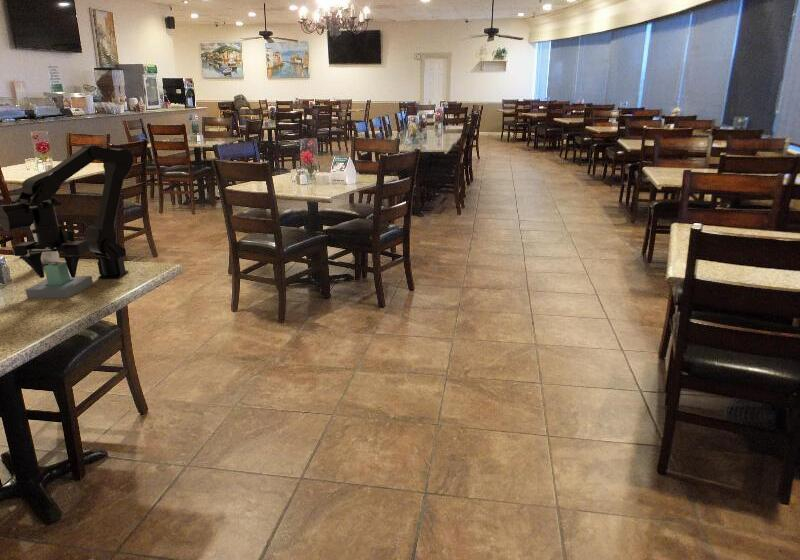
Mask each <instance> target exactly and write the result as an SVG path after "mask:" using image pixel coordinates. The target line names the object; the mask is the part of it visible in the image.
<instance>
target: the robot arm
mask: <svg viewBox="0 0 800 560" xmlns="http://www.w3.org/2000/svg"><path fill="white" fill-rule="evenodd" d="M134 160H135V157H134V155H133V154H132V152H131V151H130V150H128V149H127V148H113V147H112V148H107V147H101V146H98V145H96V144H85V145H83V146H82V147H81V148H80V149H78V150H77V151H76V152H74V153H73V154H71V155H70V156H68V157H66V158H65V159H64V160H62V161H61V162H59V163H58V164H56V165H55V166H54V167H51V168H50V169H49V170H46V171H44V172H40V173H37V174H35V175H33V176H31V177H28V178H26V179H24V181H22V185H21V187H22V188H21V189H22V190H21V192H20V194H19V195H18V198H17V200H16V202H15V203H12V204H0V227H1V228H2V230H3V231H5V232H11V231H17V230H21V229H27V228H30V226H31V224H33V223H34V227H35V229H33V230H32V231H31V233H32V234H33V233H36V236H37V240H38V242H35V241H24V242H20V243H19V244H15V245H14V247H13V248H12V249H13V250H12V251H13V255H14V257H18V258H19V260H23V261H24V262H25V263H26V264H27V265H28V266H29V267H31V269H33V271H34V272H35V274H37V275H38V277H39V278H40V279H43V278H45V269H44V266H43V265H42V262H41V255H42V252H50V251H58V252H63V253H64V254H65V256H63V258H64V262H66V264H67V268H68V272H69V276H71V277H72V278H74V277H75V276H77V275H76V274H77V270H78V263H79V260H80V258H81V256H82V255H84V254H85V253H87V251H90V252H92V254H93V255H94V256H95V257H97V262H96V263H97V269H98V273H99V275H98V276H97V277H98V279H118V278H121V277H123V276H125V275H126V274H128V273H129V270H126V265H125V261H124V257H125V256H126V248H124V247H123V246H121V245H120V244H118V243H117V242H118V241H117V240H118V239H117V238H118V236H117V232H116V228H115V224H116V218H117V213H118V208H119V203H120V198H121V193H122V189H123V184H124V180H125V179H126V177H127V176H128V175H129V174H130V172H131V170H132V167H133V165H134V162H135V161H134ZM93 161H97V162H102V163H103V165H102V167H103V170H104V173H105V178H104V179H105V180H104V183H103V184H104V185H103V190H102V194H101V198H100V205H99V208H98V212H97V213H98V214H97V218H96V222H95V224H94V225H93V226H92V227H91V226H87V228H86V235H85V237H84V239H83V240H75V231H73V230H72V231H71V230H64V227H63V226H62V224H59V222H58V217H57V213H56V208H55V207H58V206H62V205H63V203H62V202H61V201H59V200H57V198H56V197H53V196H55V194H57V192H58V191H59V190H60V189H61V186H62V185H63V183H65V182H66V181H68V180H69V178H71V177H73V176H74V175H76V174H77V173H79V172H80V171H81V170H83V169H84V168H85V167H87V166H88V165H90V164H91V163H93ZM30 206H31V207H30ZM46 248H47V249H46Z"/></svg>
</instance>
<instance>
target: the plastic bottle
mask: <svg viewBox="0 0 800 560" xmlns="http://www.w3.org/2000/svg"><path fill="white" fill-rule="evenodd" d="M30 207H31V206H30ZM29 228H30V231H31V232H32V230H33V229H35V227H34V223H33V224H31V226H30V227H29ZM32 237H33V240H34V242H38V240H37V236H36V233H32ZM46 249H47V248H46ZM56 261H58V262H59V261H60V254H59V251H50V252H42V255H41V262H42V266H43V265H44V266H46V264H50V263H52V262H56Z"/></svg>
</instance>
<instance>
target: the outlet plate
mask: <svg viewBox="0 0 800 560" xmlns="http://www.w3.org/2000/svg"><path fill="white" fill-rule="evenodd" d="M69 277H70V281H71V282H69V283H67V284H65V285H63V286H48V282H47V278H46V279H44V280H41V281H40V282H38V283H36V284H34V285H32V286H30V287H28V288H26V289H25V294H26V297H27V299H48V298H49V299H59V298H60V299H61V298H63V299H64V298H65V299H66V298H67V299H70V297H73V296H75V295H76V294H78V293H80V292H82V291H83V290H85V289H86V288H89V287H90V286H92V285H94V282H93V281H94V280H93V276H92V275H75V277H74V278H72V277H71V275H69Z"/></svg>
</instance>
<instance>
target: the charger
mask: <svg viewBox="0 0 800 560" xmlns="http://www.w3.org/2000/svg"><path fill="white" fill-rule="evenodd" d="M43 270H44V274H45V277H46V279H47V282H48V286H63V285H65V284H67V283H69V282H71V281H70V277H69V276H70V273H69V270H68V267H67V264H66V261H60V262H59V260H58V261H56V262H52V263H50V264H48V265H44V266H43Z"/></svg>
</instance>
